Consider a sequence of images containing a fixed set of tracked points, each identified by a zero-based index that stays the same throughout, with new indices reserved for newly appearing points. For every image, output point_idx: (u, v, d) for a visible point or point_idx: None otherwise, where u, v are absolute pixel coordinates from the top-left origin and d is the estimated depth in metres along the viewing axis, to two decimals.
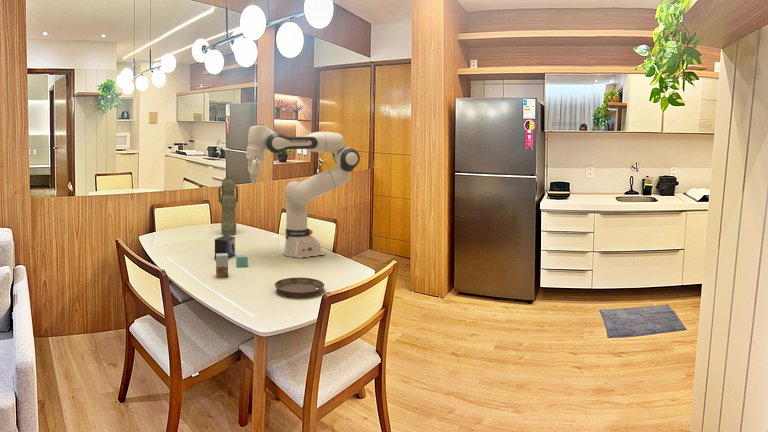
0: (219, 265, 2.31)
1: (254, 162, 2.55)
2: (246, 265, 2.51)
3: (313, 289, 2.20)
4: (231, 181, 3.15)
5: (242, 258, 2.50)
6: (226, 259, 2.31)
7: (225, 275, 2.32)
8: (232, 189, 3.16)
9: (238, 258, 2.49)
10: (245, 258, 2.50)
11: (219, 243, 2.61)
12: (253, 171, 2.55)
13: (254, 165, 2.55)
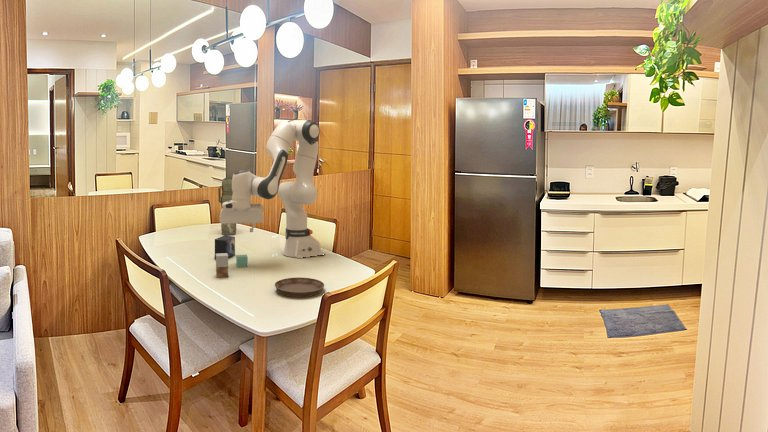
0: (218, 265, 2.31)
1: (261, 209, 2.50)
2: (246, 265, 2.51)
3: (313, 289, 2.20)
4: (231, 181, 3.15)
5: (242, 258, 2.50)
6: (226, 259, 2.31)
7: (225, 275, 2.32)
8: None
9: (238, 258, 2.49)
10: (245, 258, 2.50)
11: (219, 243, 2.61)
12: (262, 218, 2.51)
13: (262, 212, 2.51)
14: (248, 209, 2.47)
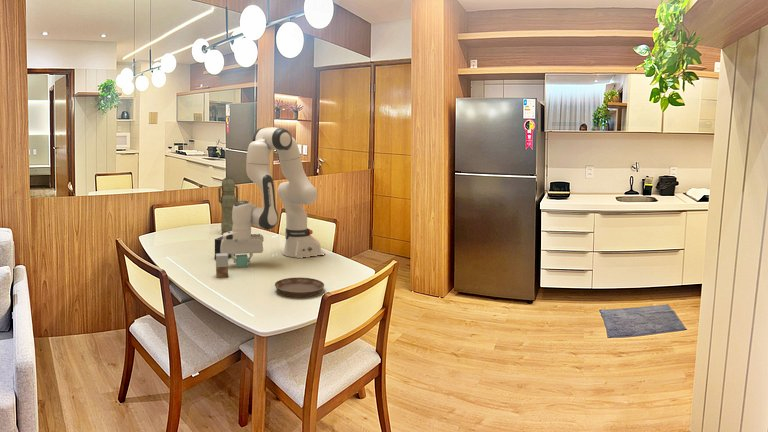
0: (219, 265, 2.31)
1: (261, 239, 2.53)
2: (246, 265, 2.51)
3: (313, 289, 2.20)
4: (231, 181, 3.15)
5: (242, 258, 2.50)
6: (226, 259, 2.31)
7: (225, 275, 2.32)
8: (232, 189, 3.16)
9: (238, 258, 2.49)
10: (245, 258, 2.50)
11: (219, 243, 2.61)
12: None
13: (262, 242, 2.53)
14: (248, 240, 2.50)
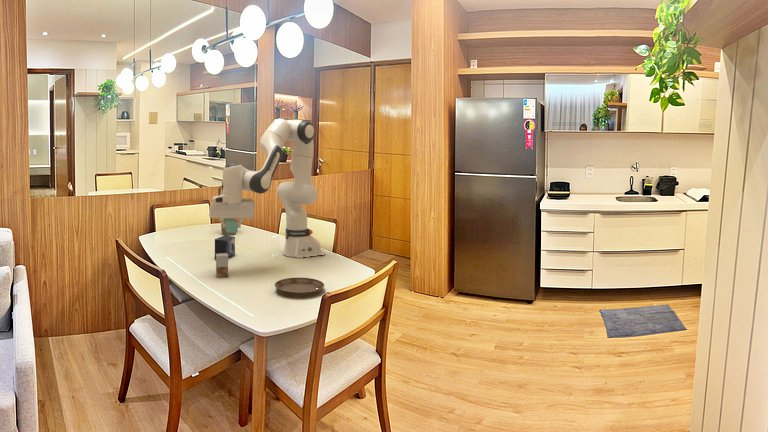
0: (219, 265, 2.31)
1: (252, 204, 2.41)
2: (236, 230, 2.39)
3: (313, 289, 2.20)
4: None
5: (232, 223, 2.38)
6: (226, 259, 2.31)
7: (225, 275, 2.32)
8: None
9: (228, 222, 2.38)
10: (235, 223, 2.39)
11: (219, 243, 2.61)
12: None
13: (253, 207, 2.42)
14: (239, 204, 2.39)
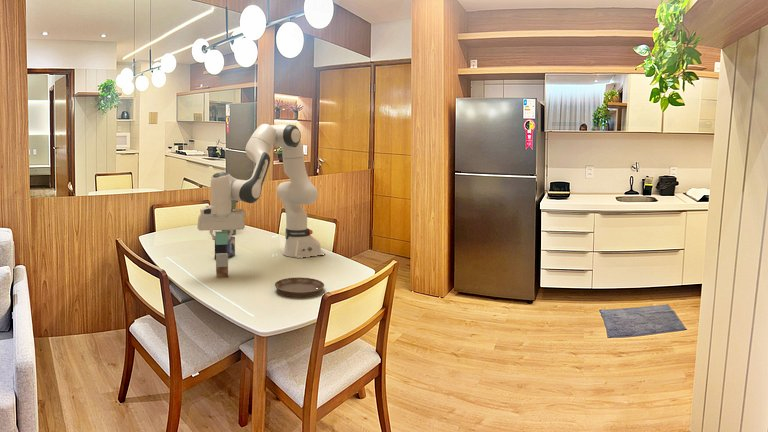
0: (219, 265, 2.31)
1: (242, 215, 2.32)
2: (226, 242, 2.30)
3: (313, 289, 2.20)
4: None
5: (221, 234, 2.29)
6: (226, 259, 2.31)
7: (225, 275, 2.32)
8: None
9: (217, 234, 2.28)
10: (225, 235, 2.29)
11: None
12: (244, 225, 2.33)
13: (243, 218, 2.32)
14: (228, 215, 2.29)
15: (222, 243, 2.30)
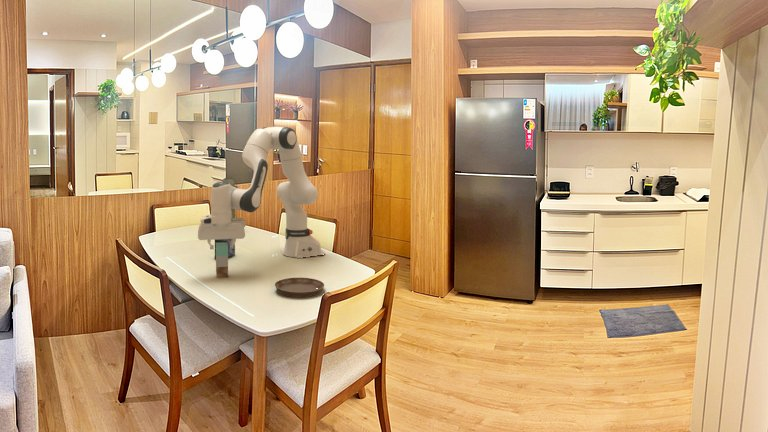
0: (219, 265, 2.31)
1: (242, 224, 2.33)
2: (226, 254, 2.31)
3: (313, 289, 2.20)
4: (231, 181, 3.15)
5: (222, 246, 2.30)
6: (226, 259, 2.31)
7: (225, 275, 2.32)
8: None
9: (217, 246, 2.29)
10: (225, 246, 2.30)
11: None
12: (244, 234, 2.34)
13: (243, 227, 2.33)
14: (228, 224, 2.30)
15: (222, 254, 2.31)
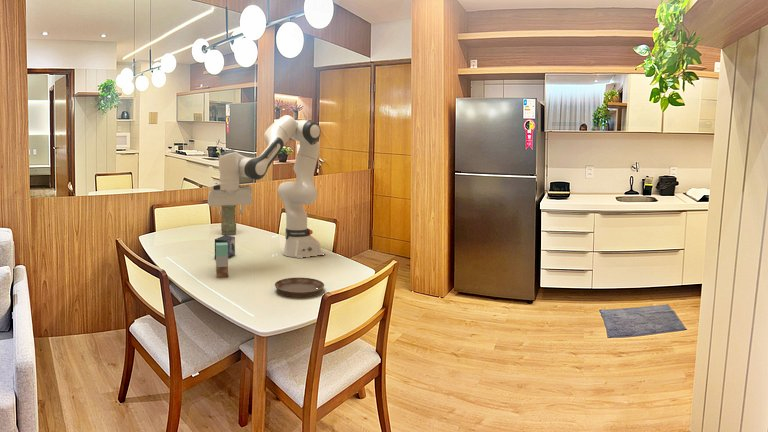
0: (219, 265, 2.31)
1: (250, 190, 2.45)
2: (226, 254, 2.31)
3: (313, 289, 2.20)
4: None
5: (222, 246, 2.30)
6: (226, 259, 2.31)
7: (225, 275, 2.32)
8: None
9: (217, 246, 2.29)
10: (225, 246, 2.30)
11: None
12: None
13: (251, 193, 2.46)
14: (237, 190, 2.42)
15: (222, 254, 2.31)
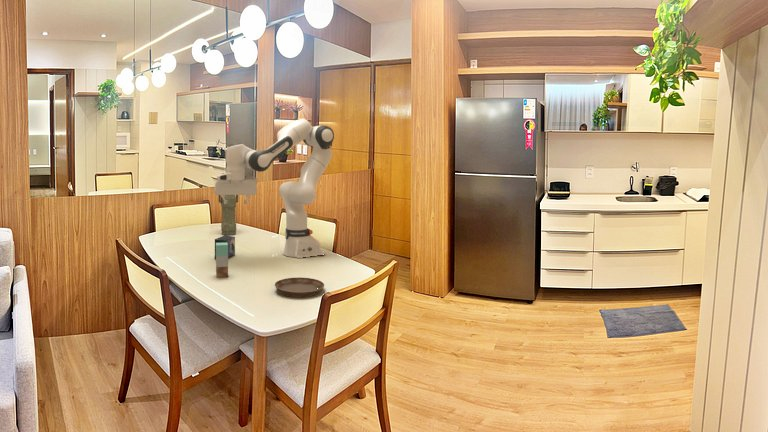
0: (219, 265, 2.31)
1: (254, 182, 2.57)
2: (226, 254, 2.31)
3: (313, 289, 2.20)
4: None
5: (222, 246, 2.30)
6: (226, 259, 2.31)
7: (225, 275, 2.33)
8: None
9: (217, 246, 2.29)
10: (225, 246, 2.30)
11: None
12: (256, 190, 2.58)
13: (255, 184, 2.57)
14: (242, 181, 2.54)
15: (222, 254, 2.31)
